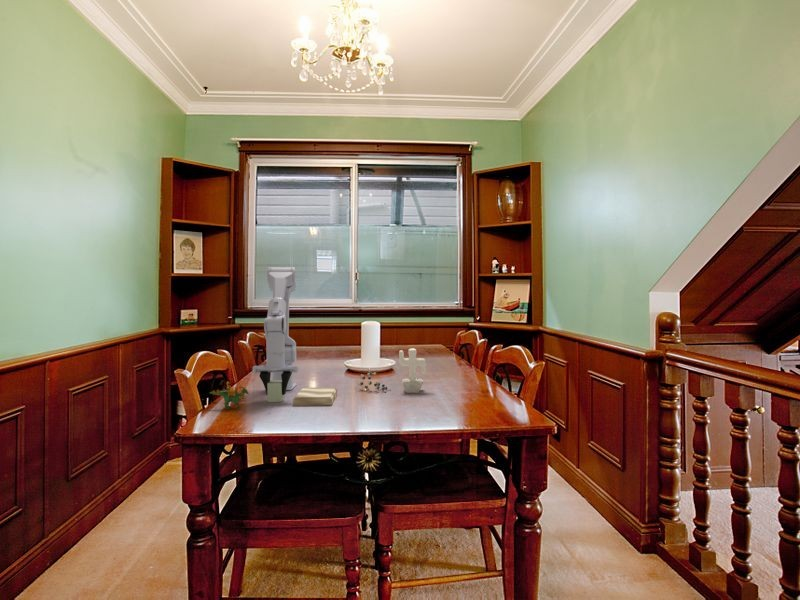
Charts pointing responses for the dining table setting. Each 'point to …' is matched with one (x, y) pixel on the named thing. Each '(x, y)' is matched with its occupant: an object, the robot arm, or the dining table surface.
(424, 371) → the figurine
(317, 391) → the birch base
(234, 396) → the figurine
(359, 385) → the molecule model
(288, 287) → the robot arm
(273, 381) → the sage block
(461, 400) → the dining table surface
